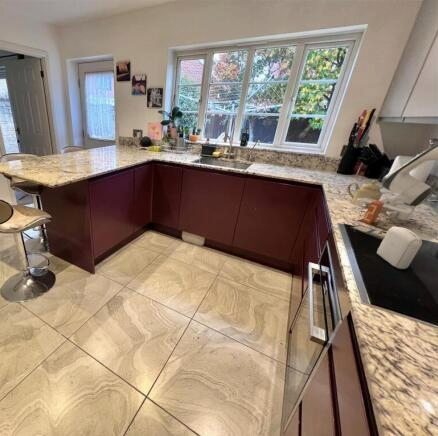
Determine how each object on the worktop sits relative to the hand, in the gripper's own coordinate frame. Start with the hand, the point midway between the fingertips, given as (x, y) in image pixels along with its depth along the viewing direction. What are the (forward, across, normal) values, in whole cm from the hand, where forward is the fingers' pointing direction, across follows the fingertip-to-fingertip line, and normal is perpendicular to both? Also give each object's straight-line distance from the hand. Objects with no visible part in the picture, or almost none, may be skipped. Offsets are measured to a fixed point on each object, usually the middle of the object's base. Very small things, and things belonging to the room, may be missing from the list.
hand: (374, 210), depth 109 cm
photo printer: (+32, +20, +7) cm, 38 cm away
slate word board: (+13, +9, +7) cm, 17 cm away
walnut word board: (+1, +6, +7) cm, 9 cm away
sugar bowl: (-29, -17, +7) cm, 35 cm away
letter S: (+1, 0, +6) cm, 6 cm away
